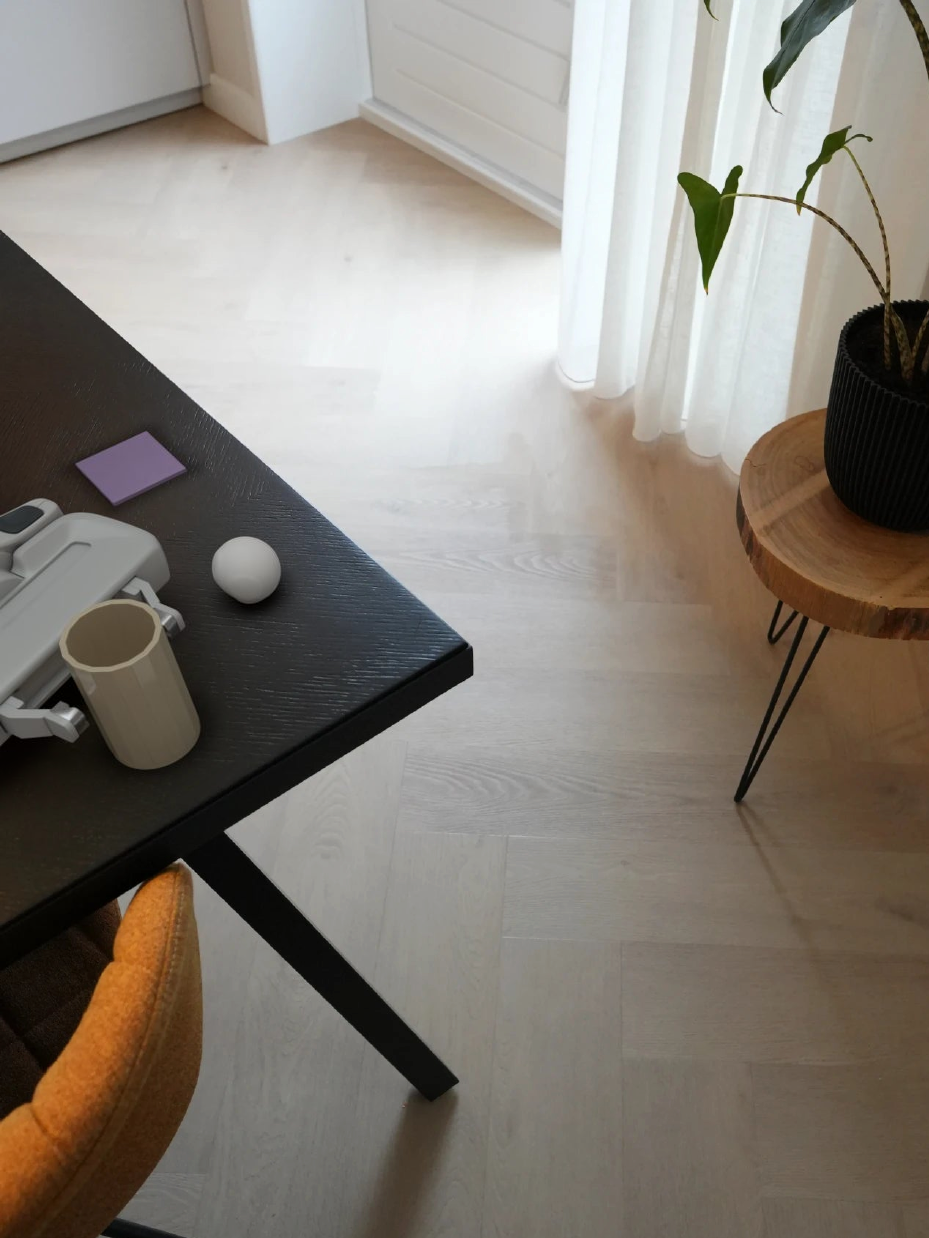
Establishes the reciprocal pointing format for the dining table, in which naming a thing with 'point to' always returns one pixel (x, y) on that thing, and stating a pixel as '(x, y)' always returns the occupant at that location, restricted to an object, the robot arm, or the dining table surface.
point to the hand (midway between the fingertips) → (129, 675)
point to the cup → (131, 682)
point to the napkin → (130, 468)
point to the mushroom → (246, 569)
